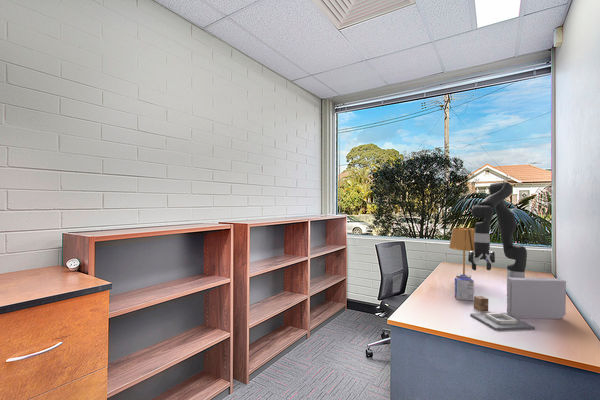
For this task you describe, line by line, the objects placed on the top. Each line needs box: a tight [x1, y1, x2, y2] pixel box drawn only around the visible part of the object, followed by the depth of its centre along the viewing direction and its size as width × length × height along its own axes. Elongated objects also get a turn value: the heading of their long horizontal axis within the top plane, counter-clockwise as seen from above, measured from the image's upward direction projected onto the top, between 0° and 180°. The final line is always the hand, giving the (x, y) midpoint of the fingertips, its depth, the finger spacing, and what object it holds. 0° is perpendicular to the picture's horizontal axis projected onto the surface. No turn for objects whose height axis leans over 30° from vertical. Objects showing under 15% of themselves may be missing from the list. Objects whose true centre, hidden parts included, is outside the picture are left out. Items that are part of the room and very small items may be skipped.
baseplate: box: [469, 312, 536, 331], centre depth 150 cm, size 20×18×3 cm
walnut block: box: [473, 295, 489, 313], centre depth 167 cm, size 5×5×7 cm
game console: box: [506, 276, 567, 320], centre depth 159 cm, size 6×27×20 cm, turn 88°
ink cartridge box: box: [454, 275, 475, 301], centre depth 187 cm, size 10×6×14 cm, turn 78°
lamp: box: [448, 227, 475, 279], centre depth 224 cm, size 21×21×41 cm
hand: (481, 270), depth 167 cm, fingers open, 8 cm apart
